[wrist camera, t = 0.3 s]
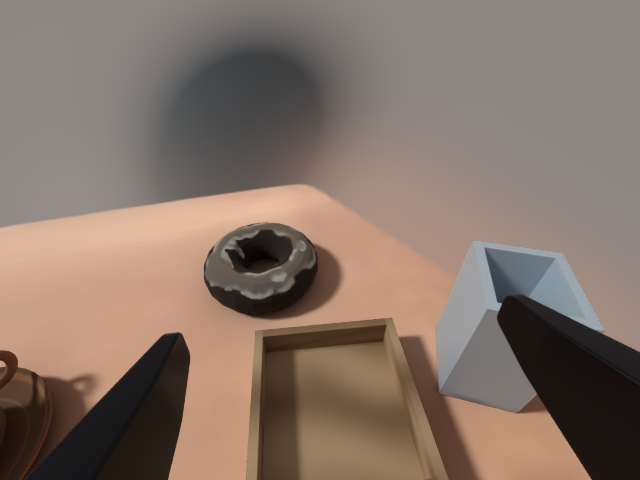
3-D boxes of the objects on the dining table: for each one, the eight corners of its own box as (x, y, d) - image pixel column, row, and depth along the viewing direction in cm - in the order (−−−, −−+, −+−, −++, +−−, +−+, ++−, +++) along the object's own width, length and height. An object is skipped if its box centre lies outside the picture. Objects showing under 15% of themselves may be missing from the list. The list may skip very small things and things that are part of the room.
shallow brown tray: (438, 500, 18) (452, 489, 16) (251, 528, 17) (243, 520, 15) (386, 337, 27) (391, 317, 25) (260, 350, 26) (255, 330, 24)
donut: (301, 234, 38) (300, 208, 36) (332, 304, 30) (333, 277, 27) (207, 253, 36) (198, 226, 33) (211, 336, 27) (199, 309, 24)
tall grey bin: (517, 413, 22) (604, 331, 15) (438, 393, 23) (487, 308, 16) (500, 341, 26) (562, 253, 20) (435, 327, 27) (473, 240, 21)
